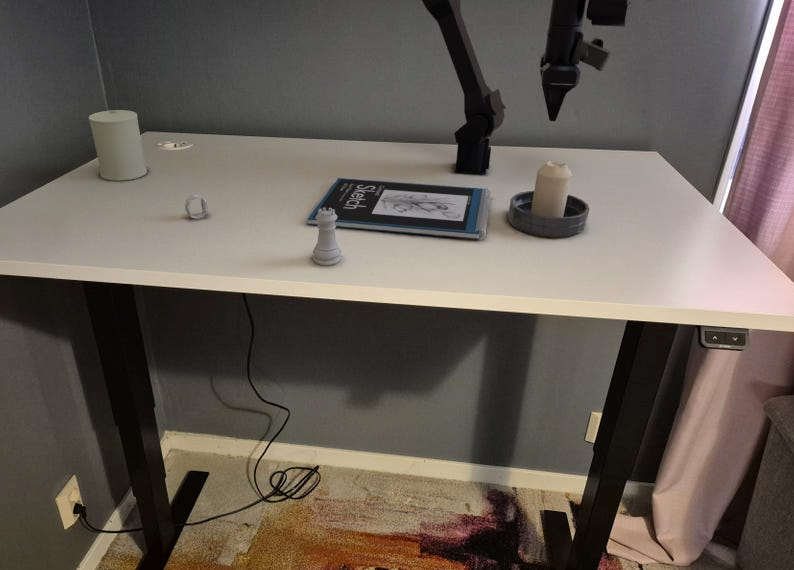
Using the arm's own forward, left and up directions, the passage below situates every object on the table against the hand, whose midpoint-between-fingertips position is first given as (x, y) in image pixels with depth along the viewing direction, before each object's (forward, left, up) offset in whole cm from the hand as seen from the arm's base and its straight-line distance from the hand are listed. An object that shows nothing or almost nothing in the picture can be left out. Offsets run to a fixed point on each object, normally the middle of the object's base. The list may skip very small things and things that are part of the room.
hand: (551, 115), depth 122 cm
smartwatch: (-60, -33, -13) cm, 70 cm away
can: (-84, -14, -13) cm, 86 cm away
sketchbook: (-25, -22, -13) cm, 36 cm away
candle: (0, -22, -13) cm, 26 cm away
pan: (0, -23, -13) cm, 26 cm away
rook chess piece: (-34, -45, -13) cm, 58 cm away
